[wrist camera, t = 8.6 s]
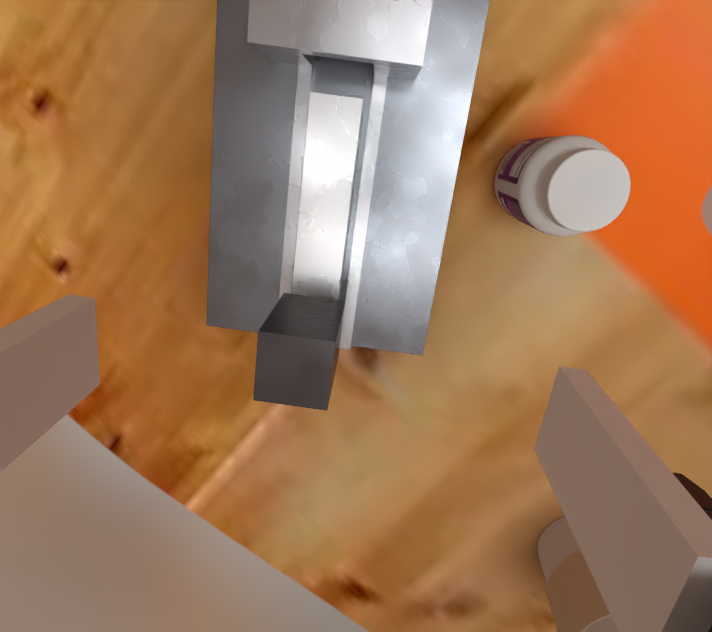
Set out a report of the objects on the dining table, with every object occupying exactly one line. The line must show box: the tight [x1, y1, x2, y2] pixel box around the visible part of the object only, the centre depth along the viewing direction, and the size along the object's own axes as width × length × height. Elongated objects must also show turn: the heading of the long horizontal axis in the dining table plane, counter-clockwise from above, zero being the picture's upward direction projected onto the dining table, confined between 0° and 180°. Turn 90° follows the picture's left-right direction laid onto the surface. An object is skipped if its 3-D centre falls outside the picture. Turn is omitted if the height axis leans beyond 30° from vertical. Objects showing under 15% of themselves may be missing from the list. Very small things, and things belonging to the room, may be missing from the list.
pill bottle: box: [495, 135, 631, 236], centre depth 29 cm, size 5×5×10 cm
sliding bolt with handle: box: [253, 92, 364, 410], centre depth 29 cm, size 16×4×10 cm, turn 173°
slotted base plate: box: [207, 0, 490, 355], centre depth 30 cm, size 28×16×8 cm, turn 173°
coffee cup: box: [537, 517, 618, 632], centre depth 36 cm, size 9×9×15 cm
